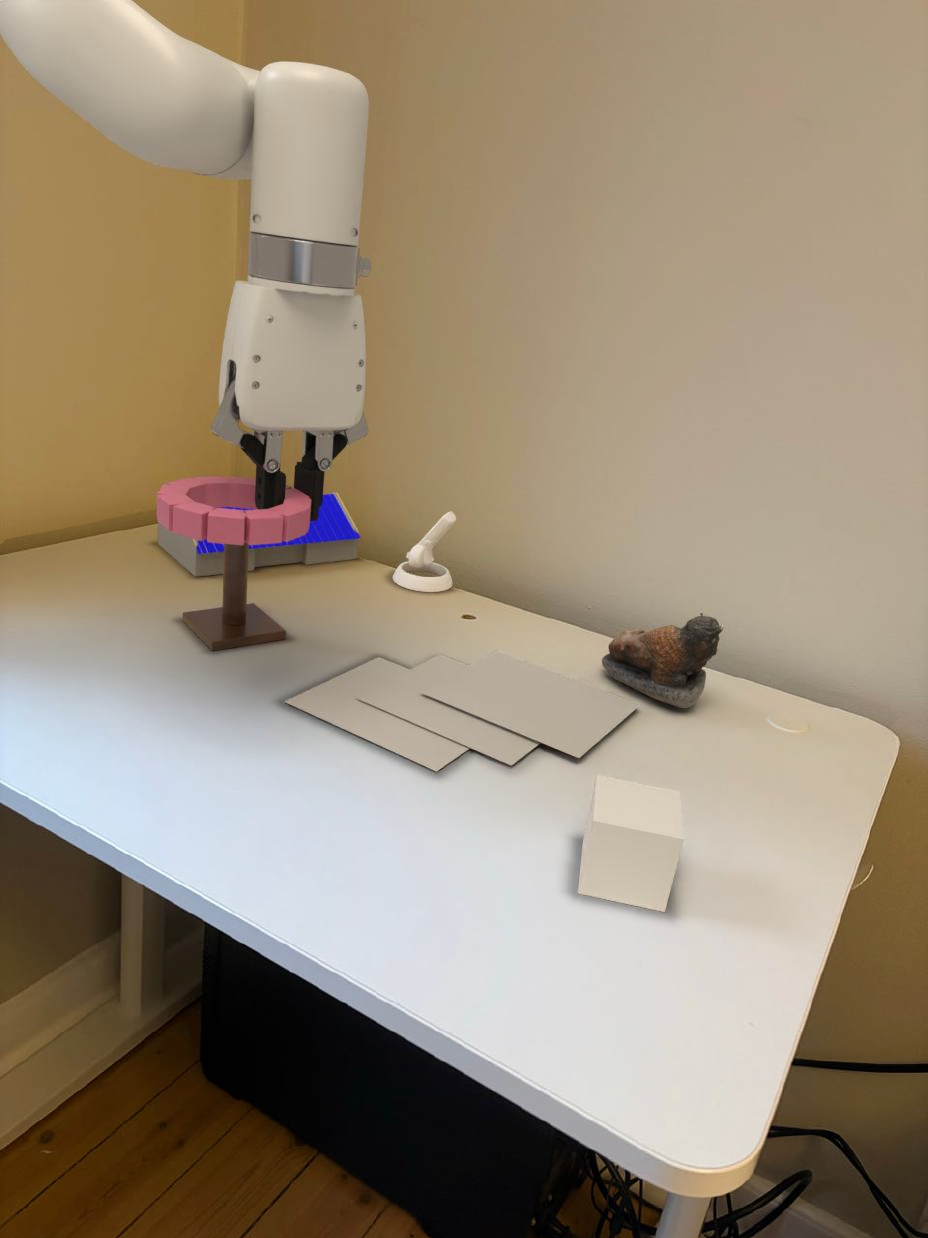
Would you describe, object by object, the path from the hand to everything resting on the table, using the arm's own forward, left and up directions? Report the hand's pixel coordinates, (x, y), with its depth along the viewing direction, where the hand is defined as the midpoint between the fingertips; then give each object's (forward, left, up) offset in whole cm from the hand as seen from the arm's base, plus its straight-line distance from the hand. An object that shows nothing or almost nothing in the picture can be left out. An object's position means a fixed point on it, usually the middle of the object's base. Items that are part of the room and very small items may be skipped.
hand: (288, 515), depth 72 cm
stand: (+5, +20, -19) cm, 28 cm away
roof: (+18, +42, -19) cm, 49 cm away
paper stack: (+18, -4, -19) cm, 26 cm away
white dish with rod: (+33, +26, -19) cm, 46 cm away
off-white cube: (+13, -29, -19) cm, 37 cm away
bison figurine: (+38, -9, -19) cm, 43 cm away
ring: (-4, 0, 0) cm, 4 cm away
